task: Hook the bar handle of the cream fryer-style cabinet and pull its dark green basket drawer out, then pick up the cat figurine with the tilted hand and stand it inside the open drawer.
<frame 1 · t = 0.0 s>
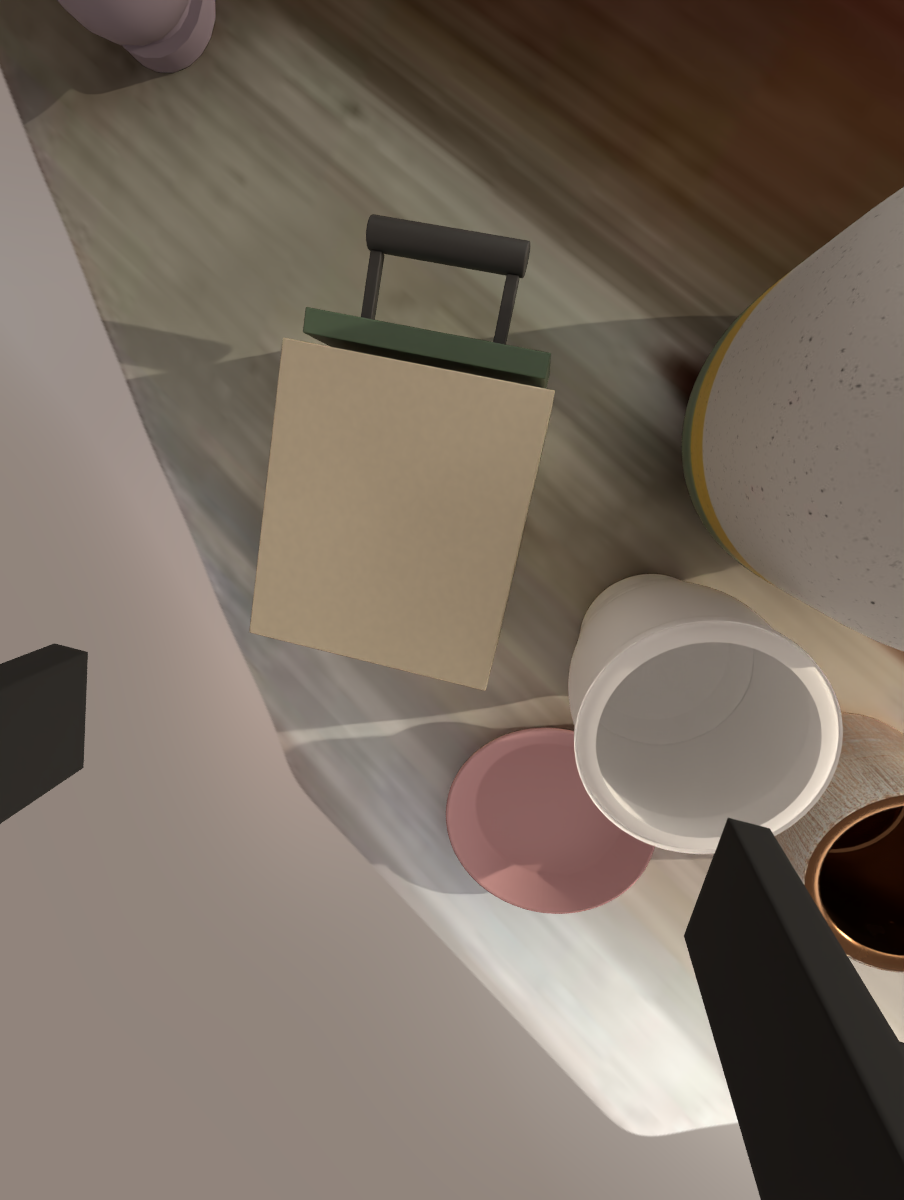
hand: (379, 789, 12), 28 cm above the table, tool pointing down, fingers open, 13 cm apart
cabinet: (421, 508, 39), on the table
planter: (827, 783, 39), on the table
drawer: (421, 431, 33), point 4 cm above the table, slide at 0.5 cm
cat figurine: (168, 10, 34), on the table
plate: (548, 806, 43), on the table
jar: (644, 635, 39), on the table
vase: (815, 435, 34), on the table
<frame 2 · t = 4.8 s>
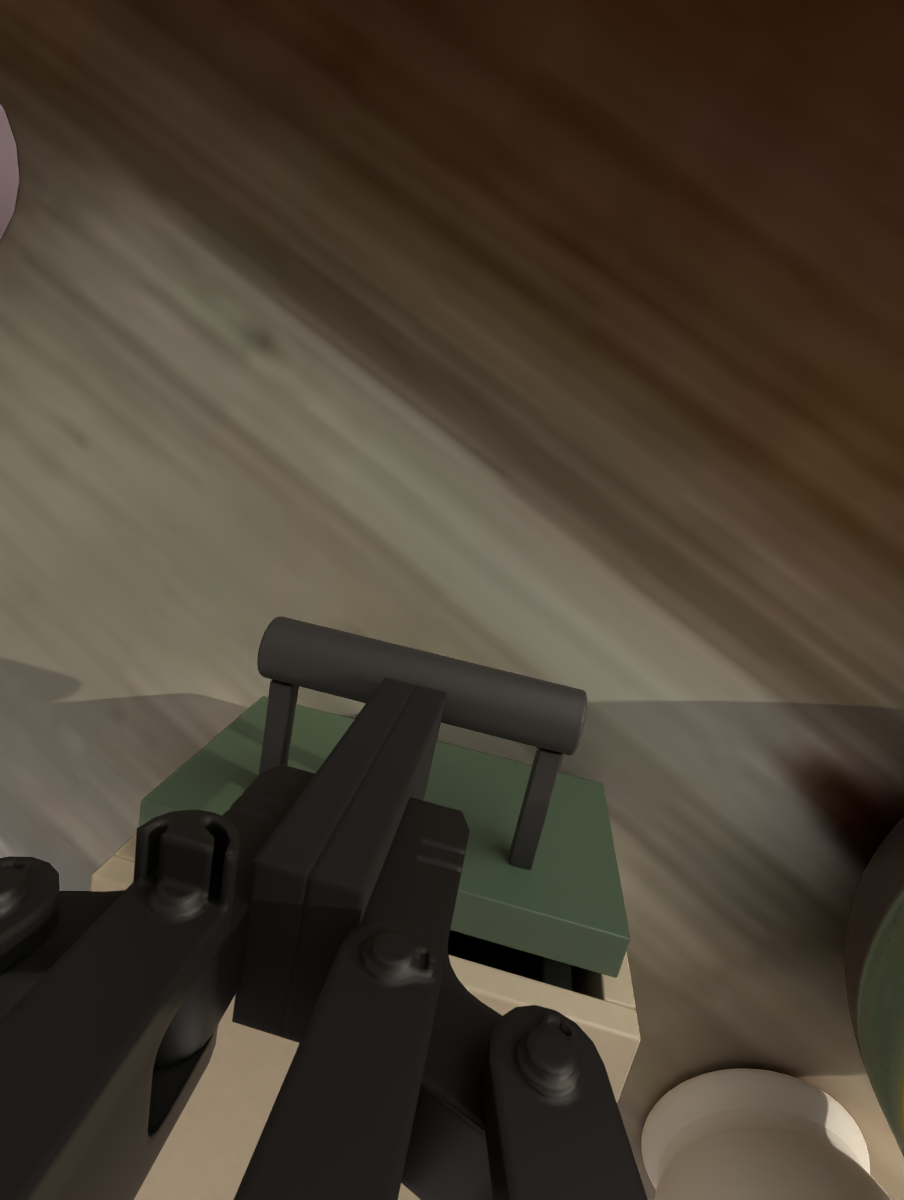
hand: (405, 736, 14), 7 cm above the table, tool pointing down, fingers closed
cabinet: (389, 933, 24), on the table
drawer: (380, 918, 19), point 4 cm above the table, slide at 0.5 cm, touching gripper
jar: (745, 1138, 24), on the table
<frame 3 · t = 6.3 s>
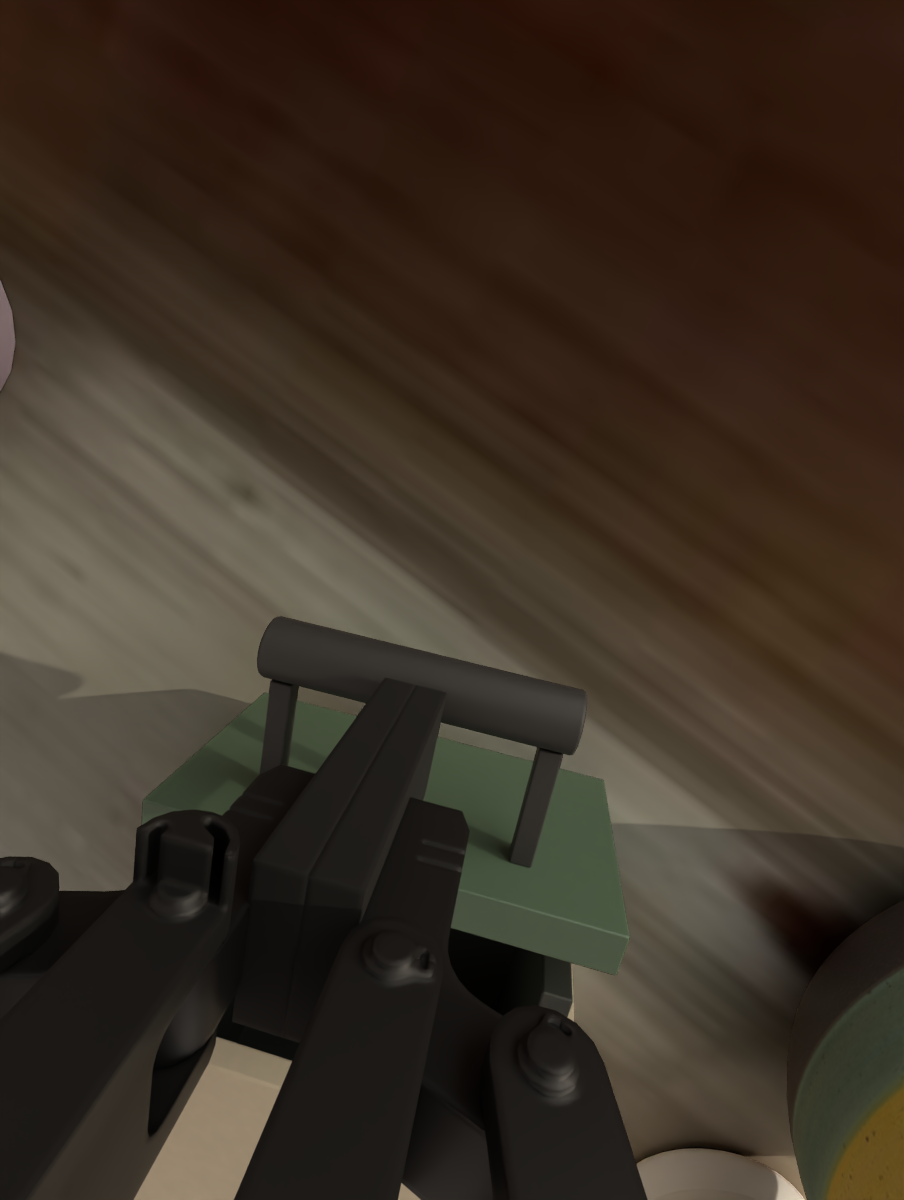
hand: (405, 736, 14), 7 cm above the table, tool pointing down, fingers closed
cabinet: (372, 1018, 26), on the table
drawer: (382, 913, 19), point 4 cm above the table, slide at 5.7 cm, touching gripper
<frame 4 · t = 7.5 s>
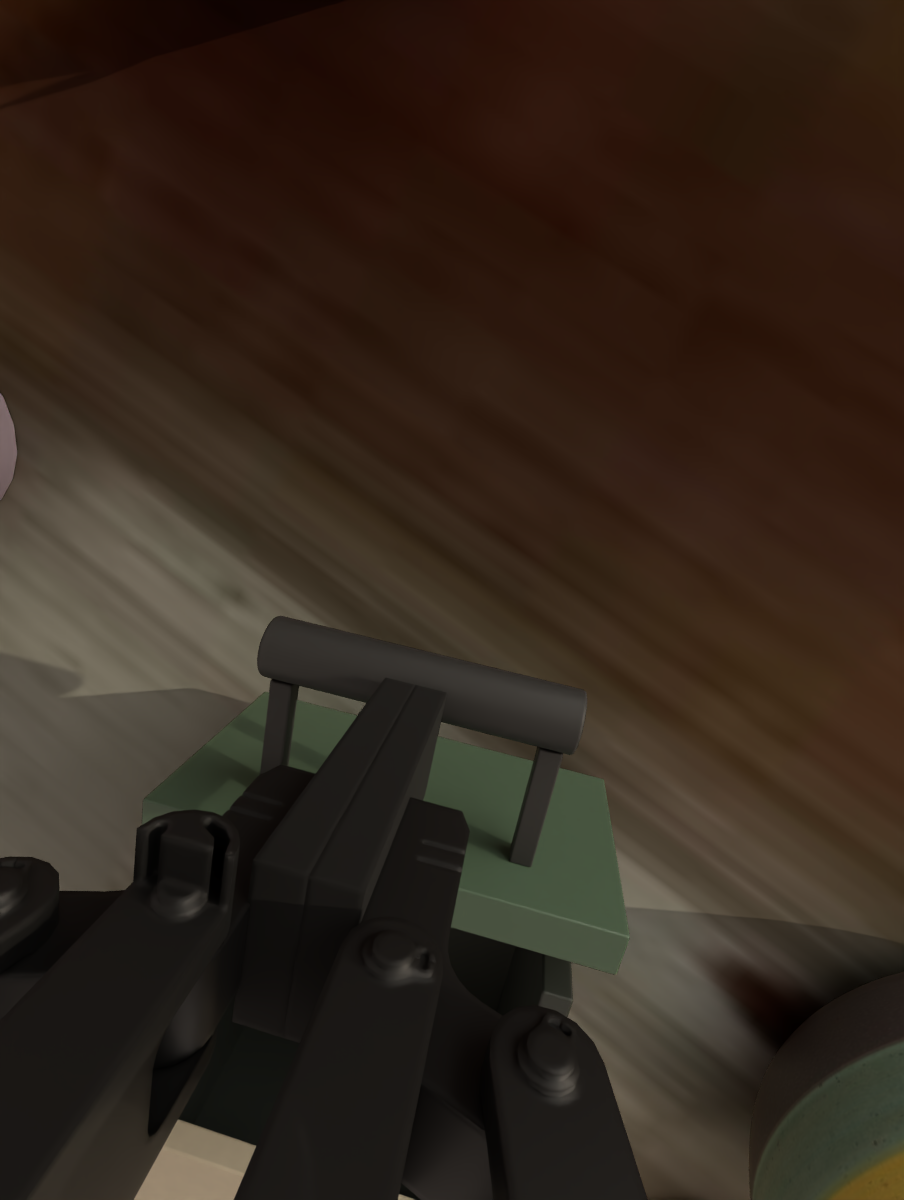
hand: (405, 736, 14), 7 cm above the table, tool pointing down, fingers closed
cabinet: (359, 1079, 27), on the table
drawer: (382, 913, 19), point 4 cm above the table, slide at 9.5 cm, touching gripper
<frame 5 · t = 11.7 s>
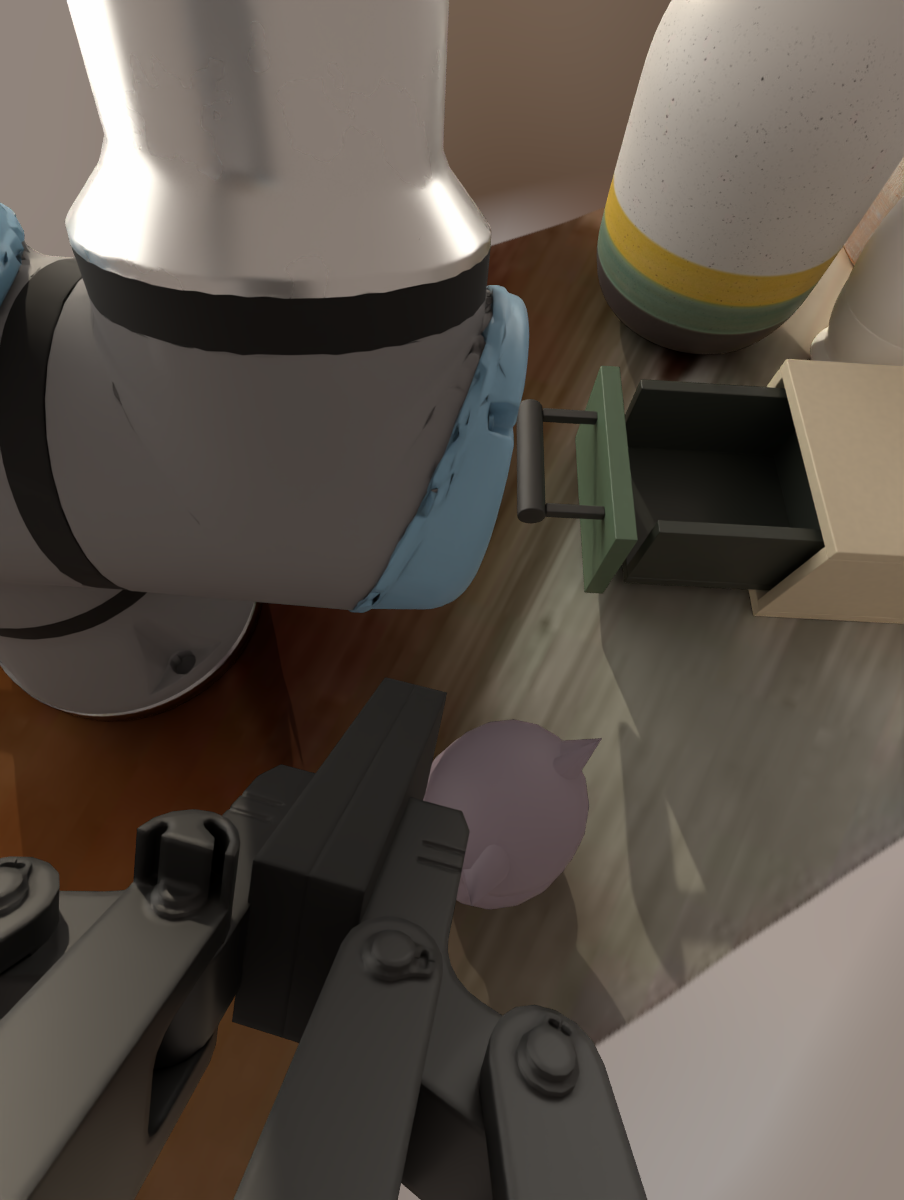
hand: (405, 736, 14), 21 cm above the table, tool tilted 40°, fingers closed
cabinet: (845, 532, 42), on the table
planter: (896, 258, 54), on the table
drawer: (667, 485, 37), point 4 cm above the table, slide at 10.1 cm
cat figurine: (487, 820, 33), on the table
jar: (858, 368, 48), on the table
vase: (680, 305, 51), on the table
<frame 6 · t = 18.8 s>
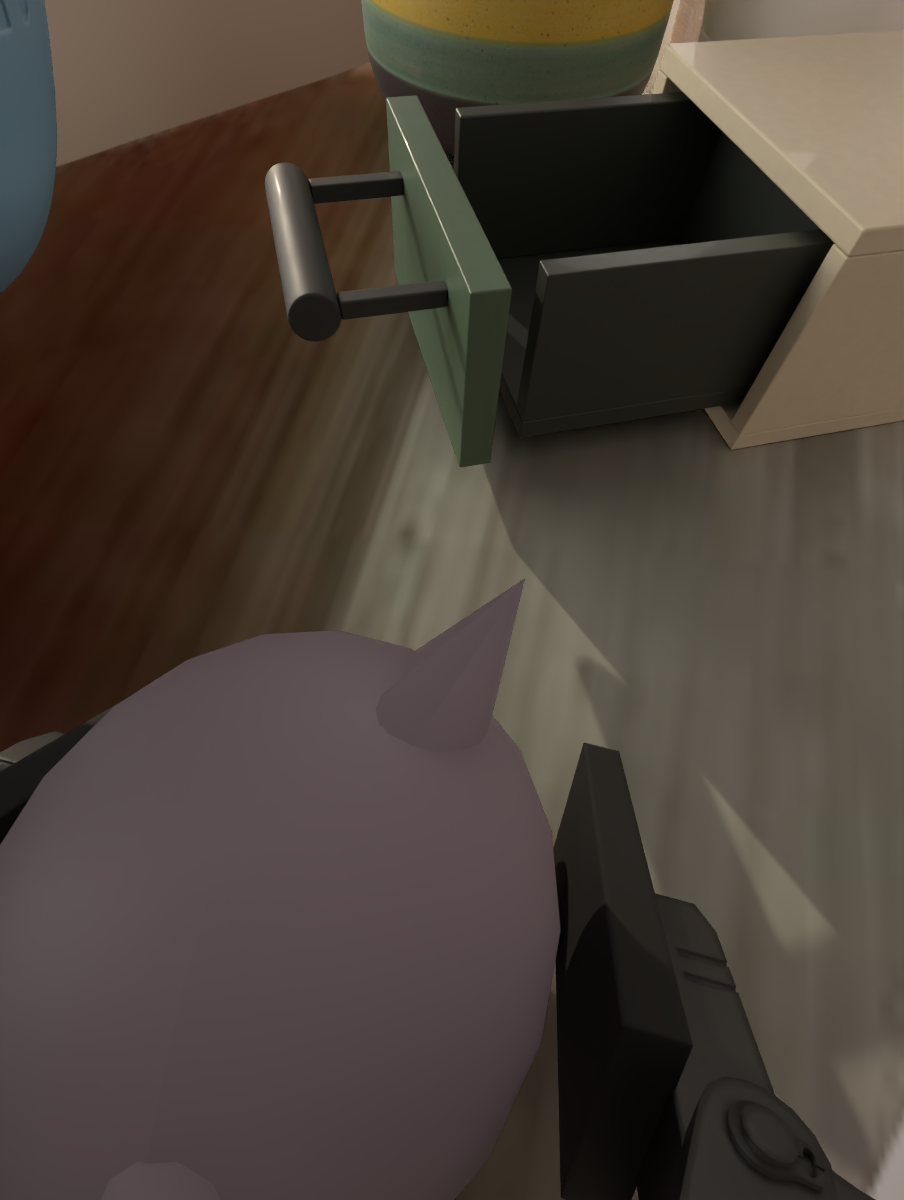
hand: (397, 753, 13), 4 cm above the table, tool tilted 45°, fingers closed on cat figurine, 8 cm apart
cabinet: (810, 324, 28), on the table
planter: (737, 63, 45), on the table
drawer: (543, 268, 23), point 4 cm above the table, slide at 10.1 cm
cat figurine: (367, 925, 15), on the table, touching gripper
jar: (743, 160, 37), on the table
vase: (502, 132, 38), on the table
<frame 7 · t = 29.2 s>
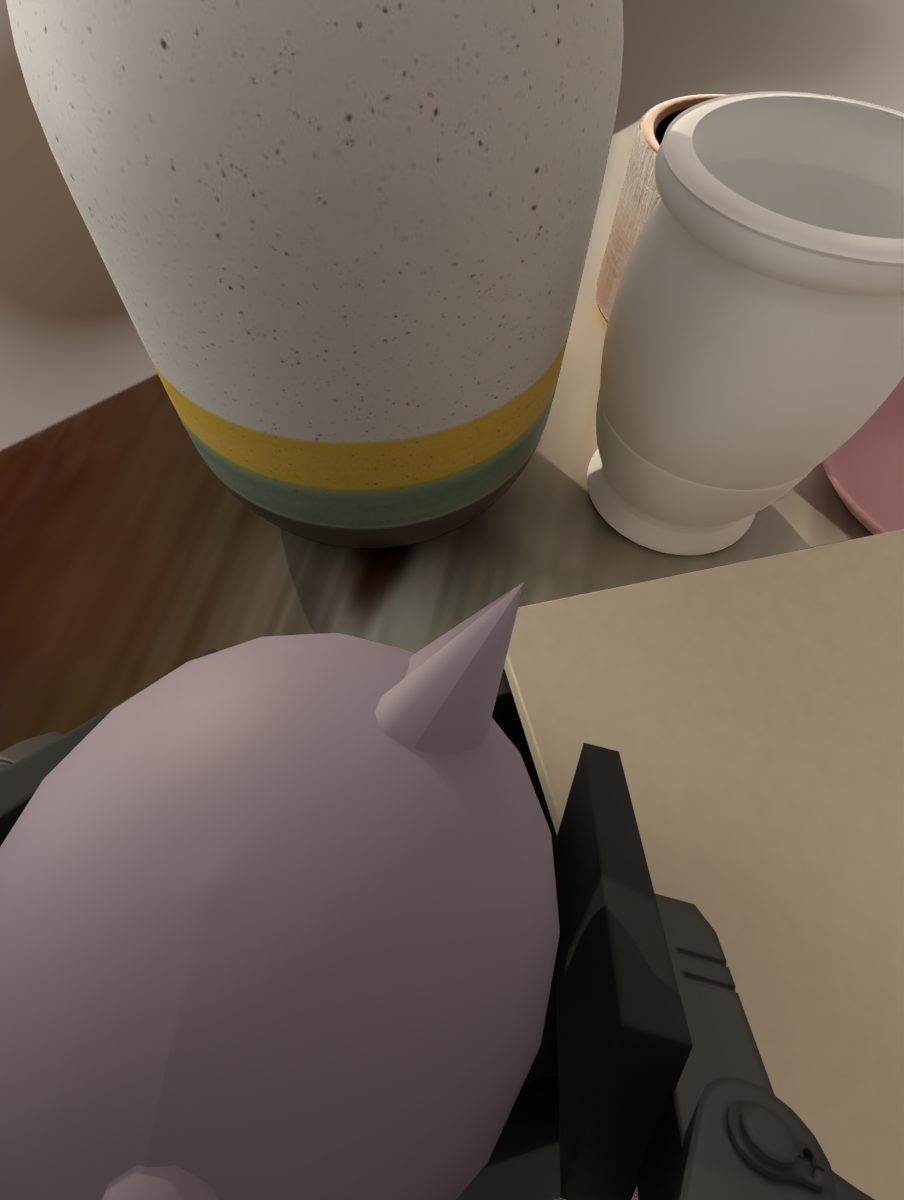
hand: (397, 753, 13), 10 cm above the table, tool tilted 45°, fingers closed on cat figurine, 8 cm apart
cabinet: (723, 838, 22), on the table
planter: (675, 314, 38), on the table
drawer: (317, 944, 16), point 4 cm above the table, slide at 10.1 cm
cat figurine: (366, 927, 15), point 6 cm above the table, touching gripper
jar: (666, 495, 31), on the table
vase: (378, 454, 32), on the table
when the fingers open (12 cm above the table, at t = 42.3 s): cat figurine drops 6 cm, resting on drawer.
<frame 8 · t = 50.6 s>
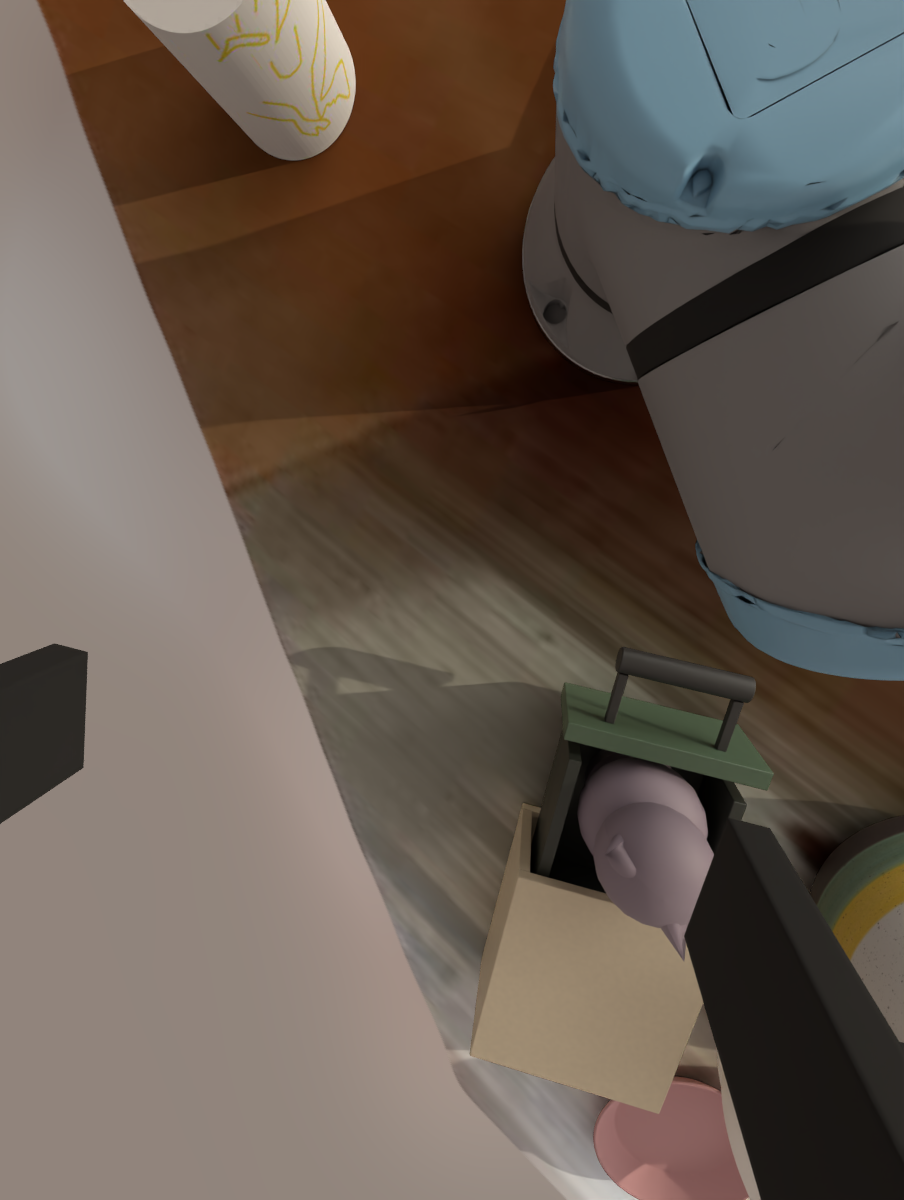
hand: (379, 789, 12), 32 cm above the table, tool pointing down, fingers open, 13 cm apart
cabinet: (583, 906, 48), on the table
drawer: (639, 785, 40), point 4 cm above the table, slide at 9.8 cm, touching cat figurine
cat figurine: (630, 780, 43), point 2 cm above the table, touching drawer
plate: (675, 1121, 52), on the table
white cylinder: (294, 88, 38), on the table
jar: (762, 1009, 48), on the table
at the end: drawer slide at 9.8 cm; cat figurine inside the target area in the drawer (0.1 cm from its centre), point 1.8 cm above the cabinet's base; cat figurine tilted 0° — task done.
